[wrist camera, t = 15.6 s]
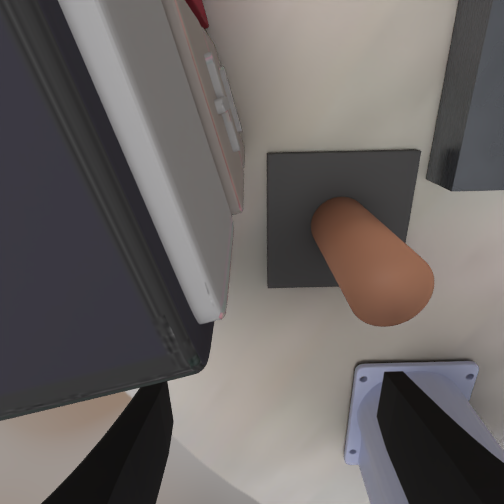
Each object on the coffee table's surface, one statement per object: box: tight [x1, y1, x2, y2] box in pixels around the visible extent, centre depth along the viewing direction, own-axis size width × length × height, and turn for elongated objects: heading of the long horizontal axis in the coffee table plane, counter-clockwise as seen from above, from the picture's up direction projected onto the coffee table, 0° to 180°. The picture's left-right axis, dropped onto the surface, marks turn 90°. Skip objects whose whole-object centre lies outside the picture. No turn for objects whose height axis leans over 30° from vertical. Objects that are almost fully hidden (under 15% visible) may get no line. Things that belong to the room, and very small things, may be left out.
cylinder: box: [311, 197, 434, 327], centre depth 16 cm, size 3×3×7 cm
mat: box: [267, 150, 421, 288], centre depth 19 cm, size 8×8×1 cm
